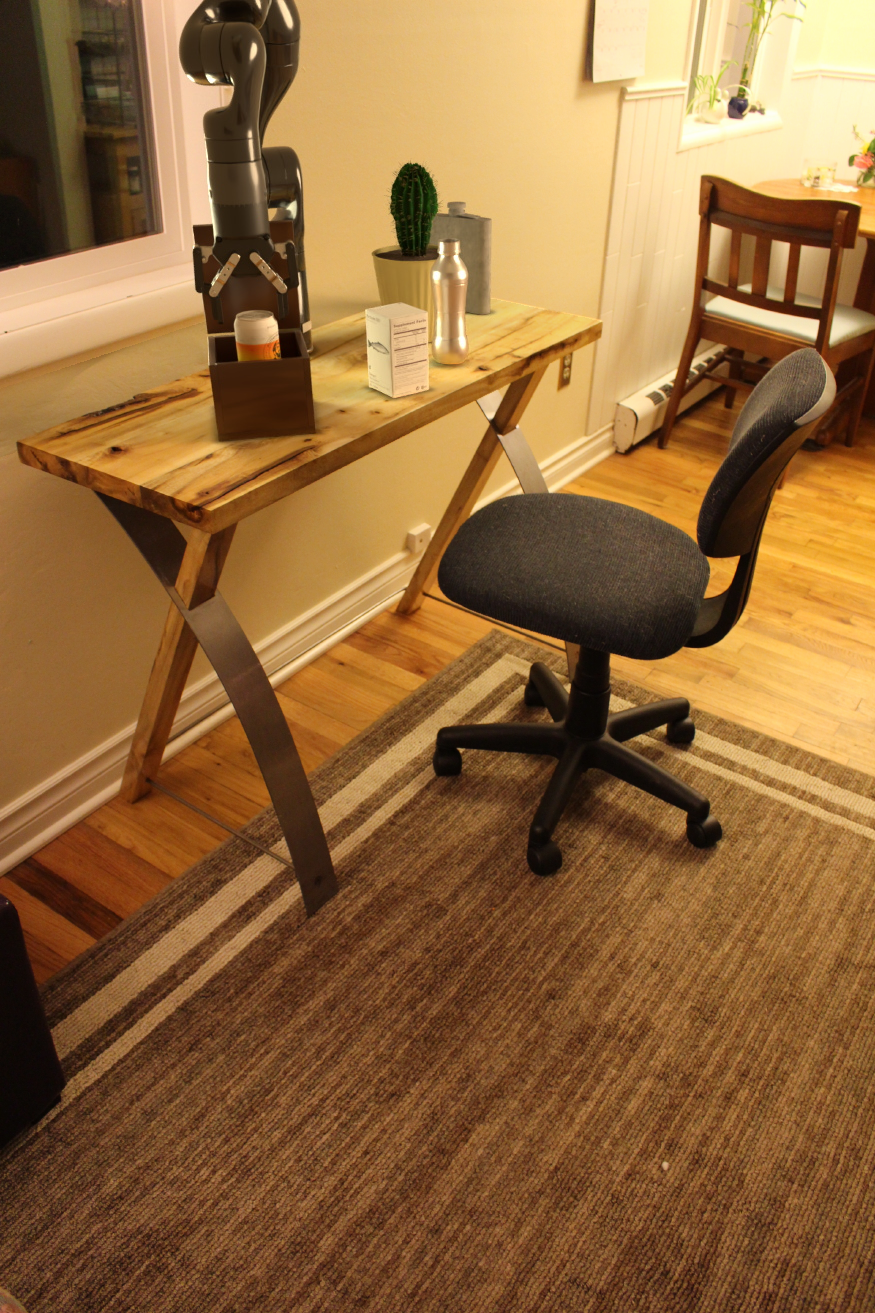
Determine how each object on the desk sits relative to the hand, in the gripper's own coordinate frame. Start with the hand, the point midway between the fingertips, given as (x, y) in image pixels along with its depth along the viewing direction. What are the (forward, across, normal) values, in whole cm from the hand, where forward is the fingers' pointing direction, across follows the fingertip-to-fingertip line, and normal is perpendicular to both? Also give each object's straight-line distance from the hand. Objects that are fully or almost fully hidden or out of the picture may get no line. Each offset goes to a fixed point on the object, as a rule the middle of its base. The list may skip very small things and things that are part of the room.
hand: (251, 320), depth 145 cm
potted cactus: (+16, -30, -42) cm, 54 cm away
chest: (+15, 0, -2) cm, 15 cm away
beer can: (+14, -1, 0) cm, 14 cm away
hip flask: (+16, -42, -60) cm, 74 cm away
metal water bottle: (+15, -33, -23) cm, 43 cm away
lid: (-4, 0, -8) cm, 9 cm away
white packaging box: (+15, -22, -11) cm, 30 cm away
